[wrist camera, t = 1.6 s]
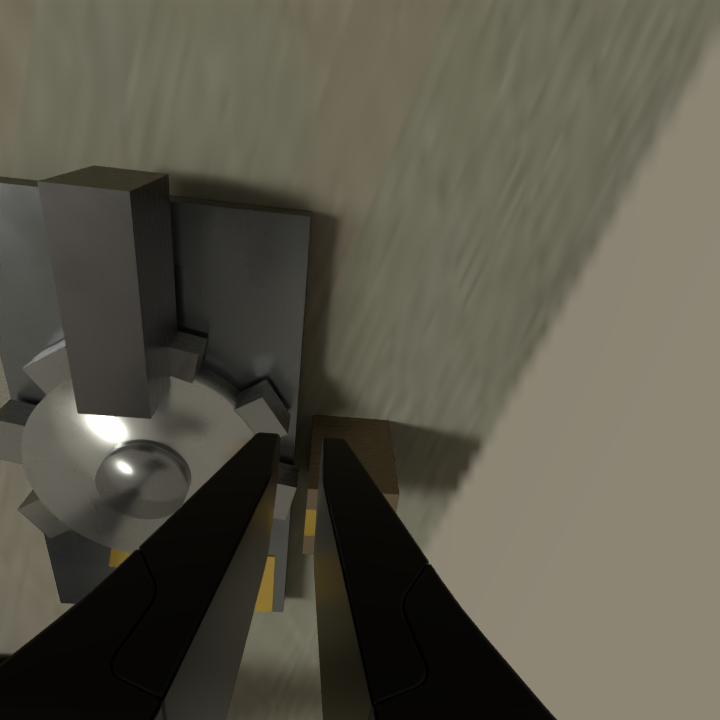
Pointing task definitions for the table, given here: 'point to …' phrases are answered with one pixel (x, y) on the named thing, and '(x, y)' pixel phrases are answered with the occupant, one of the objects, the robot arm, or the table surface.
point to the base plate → (194, 316)
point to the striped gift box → (370, 448)
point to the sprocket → (124, 375)
